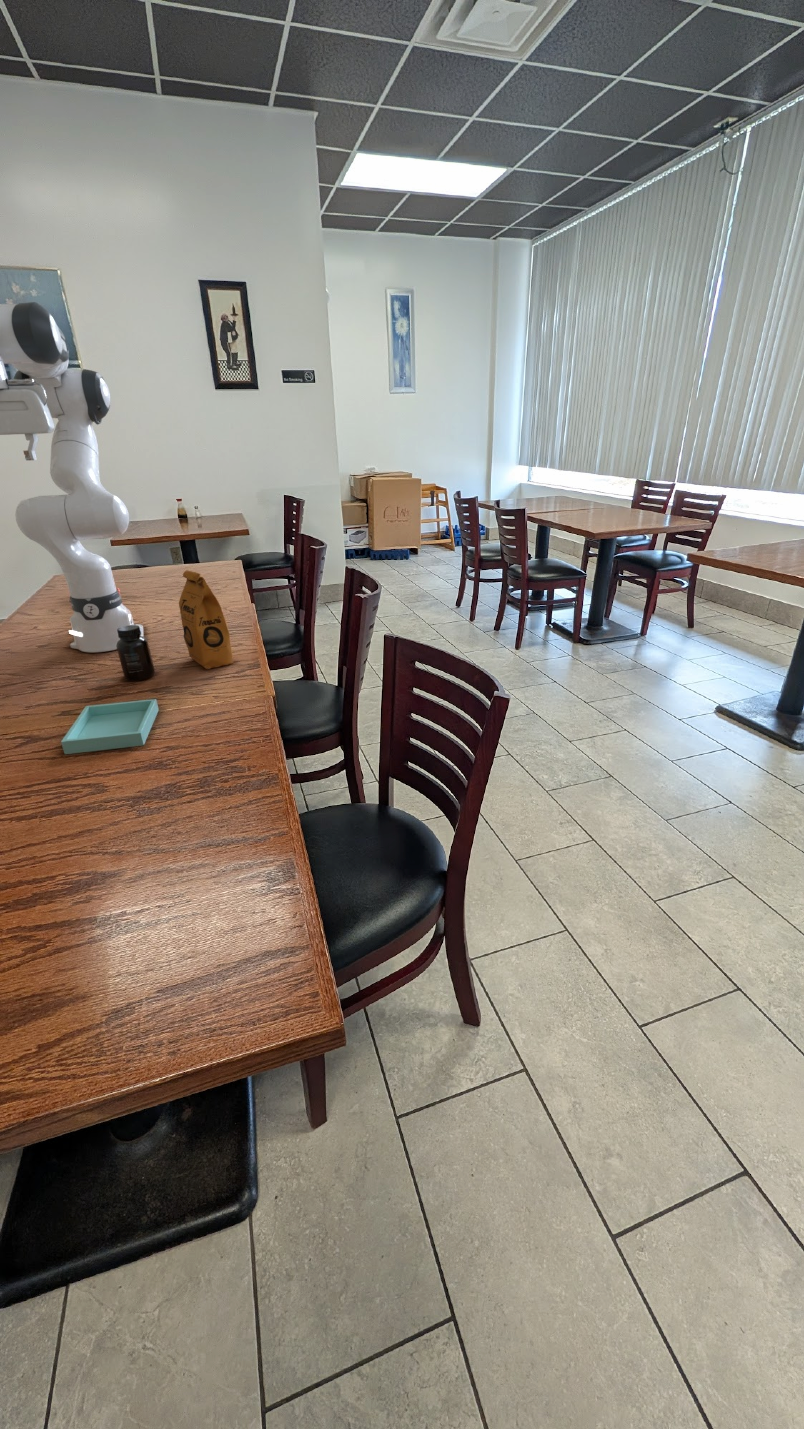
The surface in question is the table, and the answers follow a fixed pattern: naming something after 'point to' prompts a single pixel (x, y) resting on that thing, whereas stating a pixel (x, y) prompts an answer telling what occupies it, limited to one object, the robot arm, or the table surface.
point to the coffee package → (204, 623)
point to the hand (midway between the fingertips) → (5, 461)
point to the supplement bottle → (134, 654)
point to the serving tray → (111, 726)
